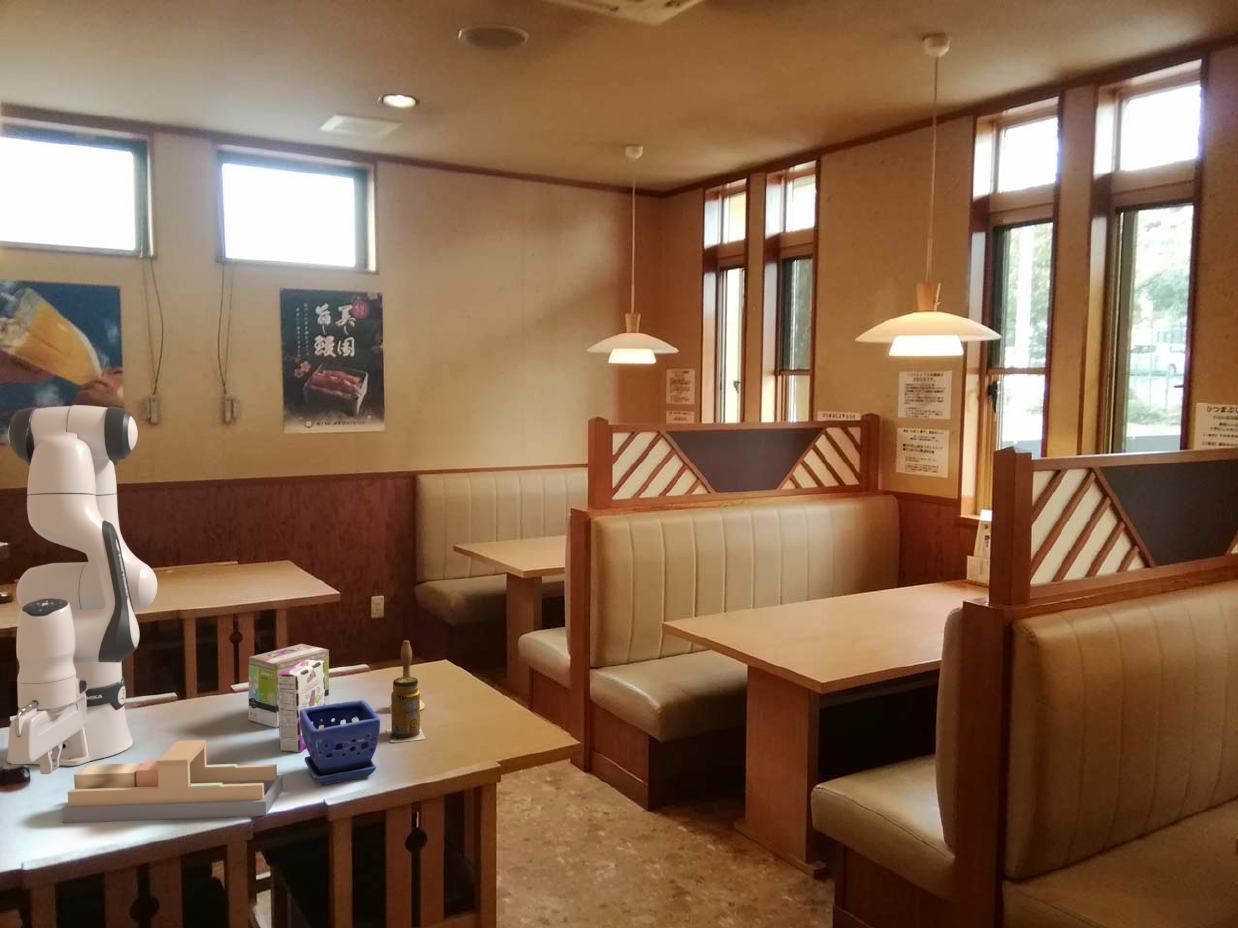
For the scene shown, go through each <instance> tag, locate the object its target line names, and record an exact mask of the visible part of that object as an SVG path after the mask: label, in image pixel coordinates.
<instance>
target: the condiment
mask: <svg viewBox="0 0 1238 928" xmlns="http://www.w3.org/2000/svg"><path fill="white" fill-rule="evenodd" d="M418 682H419V681H418V679H417V677H414V676H410V677H403V676H400V677H396V678H395V679H393V682H392V690H393V691H391V695H390V696H391V698H390V700H391V702H390V705H391V711H390V712H391V716H390V717H391V728H389V729H388V728H387V729H386V733H387V736H388V738H389V741H390V743H402V742H403V743H405V742H413V741H421V740H426V739H427V738H426V737H425V733H424V732H423V730H422V727H421V710H420V700H421V695H420V694H421V692H420V690H419V685H418Z"/></svg>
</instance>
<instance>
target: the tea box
mask: <svg viewBox="0 0 1238 928" xmlns="http://www.w3.org/2000/svg"><path fill="white" fill-rule="evenodd" d="M329 651H330V650H329V649H327V648H323V647H317V646H312V645H308V644H306V643H305V644H304V643H299V644H296V645H292V646H287V647H283V648H280V649H275V650H272V651H269V652H264V653H261V654H256V655H252V656H249V657H248V720H249V721H252V722H255V723H257V724H261V725H264V726H268V727H271V728H276V729H277V728H279V712H278V688H277V674H279V673H281V672H283V671H285V670H286V669H288V668H290V667H292V666H294V665H296V664H298V663H299V662H301V661H303V660H320V661H324V683H325V705H330V704H329V703H330V700H329V699H330V696H329V695H330V686H329V685H330V678H329V675H330V669H329V668H330V665H329V664H330V663H329V662H330V656H329V653H330V652H329Z"/></svg>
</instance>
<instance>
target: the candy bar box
mask: <svg viewBox="0 0 1238 928" xmlns="http://www.w3.org/2000/svg"><path fill="white" fill-rule="evenodd" d="M277 688H278V712H279V727H278V732H279V733H278V734H279V735H278V737H279V738H278V739H279V751H280V752H287V753H288V752H289V753H302V752H303V751H304V750H306V749H307V748H306V745H305V742H304V739H303V735H302V731H301V726H300V710H301V709H306V708H312V707H318V706H324V705H325V683H324V661H320V660H303V661H301V662H299V663H298V664H296V665H294V666H292V667H290V668H288V669H286V670H285V671H283V672H281V673H279V674H277ZM321 721H322V720H321ZM311 723H312V724H313V721H311ZM321 728H324V725H320V726H319V729H321Z"/></svg>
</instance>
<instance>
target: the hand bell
mask: <svg viewBox="0 0 1238 928" xmlns="http://www.w3.org/2000/svg"><path fill="white" fill-rule="evenodd" d="M400 660H401V665H402V677H411V669H410V668H411V664H412V660H413V650H412V647H411V644H410V640H408V639H407V640H403V643H402V645H401V649H400ZM425 708H426V705H425V702H423V701H422V700H421V699H420V711H422V710H423V709H425ZM388 711H390V712H391V704H390V705H389V707H388Z"/></svg>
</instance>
